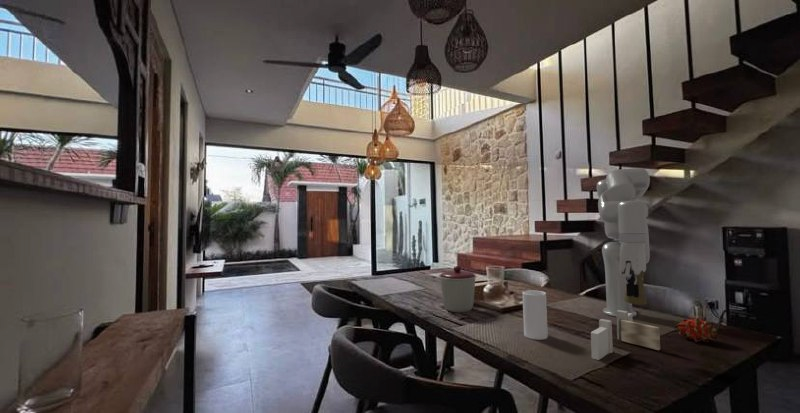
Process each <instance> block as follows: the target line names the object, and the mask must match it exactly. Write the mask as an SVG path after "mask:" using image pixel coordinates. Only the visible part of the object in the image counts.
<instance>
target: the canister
mask: <svg viewBox="0 0 800 413" xmlns="http://www.w3.org/2000/svg"><path fill="white" fill-rule="evenodd" d="M477 276H478V275H477V274H475V273H474V272H471V271H467V270H462V268H461V266H460V265H455V266H453V270H448V271H444V272H441V273H440V274H439V275H438V277H439V279H440V287H441V293H442V294H441V295H442V300H443V305H444V308H445V309H446V310H447V311H449V312H451V313H467V312H469V311H471V310H472V309H473V307H474V300H475V289H476V279H477Z"/></svg>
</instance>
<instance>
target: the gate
mask: <svg viewBox="0 0 800 413" xmlns="http://www.w3.org/2000/svg"><path fill="white" fill-rule="evenodd" d="M618 331H619V341H622V342H625V343H629V344H632V345H637V346H640V347H645V348H647V349H652V350H656V351H660V350H661V338H660V337H661V336H660V327H658V326H655V325H649V324H644V323H640V322H635V321H633V322H631V321H626V320H621V319H618Z"/></svg>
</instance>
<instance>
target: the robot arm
mask: <svg viewBox="0 0 800 413" xmlns="http://www.w3.org/2000/svg"><path fill="white" fill-rule="evenodd" d="M650 181H651V177H650V174H649V172H648V171H647V169H645V168H642V167H636V168H621V169H615V170H612V171H610V172H608V174H607V175H606V178H605V179H601V180H599V181H598V182H597V183H596V192H597V197H598V202H597V207H598V215H599V218H600V219H601V222H604V233H605V236H606V237H607V238H608V239H614V240H619V241H610V242H606V243H604V244H603V246H602V247H601V253H602V254H601V255H602V258H603V265H604V273H605V274H604V275H605V293H606V294H605V297H606V307H604V308H603V309H602V313H604V315H608V316H611V317H616V311H617V310H621V311H627V312H628V313H632V317H633V318H635V317H637V316H638V314H637V312H636V311H635V310H633V304H631V303H627V302H625V292H626V288H627V296H630V297H631V296H634V297H637V298H638V297H639V286H638V285H637V275H639V274H640V272H641V271H642V270H643V271H644V273H645V272H646V271H647V264H648V263H649V262H650V257H651V254H650V252H651V251H650V236H649V226H648V222H647V218H648V217H649V208H648V205H647V204H646V203H645V202H644V201H642V200H632V199H634V198H639V197H643V196H644V194H645V193H646V191H647V190H648V188H649V187H650V185H651V184H650V183H651V182H650ZM631 272H633V273H634V274H635V275H634V274H631ZM631 276H634V278H633V277H631ZM642 280H643V281H644V277H643V278H642Z"/></svg>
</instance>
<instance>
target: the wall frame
mask: <svg viewBox="0 0 800 413" xmlns="http://www.w3.org/2000/svg"><path fill="white" fill-rule="evenodd" d="M615 317H616V336H617V340H619V331H618V319H621V320H626V321H631V322H634V319H633V318H634V317H632V313H628V312H627V311H621V310H617V311H616V316H615ZM612 325H613V323H612V320H610V319H604V318H600V319H599V320H598V328H595V329H594V330H592V331H591V332H590V348H591V359H593V360H596V361H599V360H601V359H603V358H604V357H605V356H607V355H609V354H610V353H611V354H612V353H613V352H614V346H613V344H614V343H613V326H612ZM619 341H620V340H619Z"/></svg>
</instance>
